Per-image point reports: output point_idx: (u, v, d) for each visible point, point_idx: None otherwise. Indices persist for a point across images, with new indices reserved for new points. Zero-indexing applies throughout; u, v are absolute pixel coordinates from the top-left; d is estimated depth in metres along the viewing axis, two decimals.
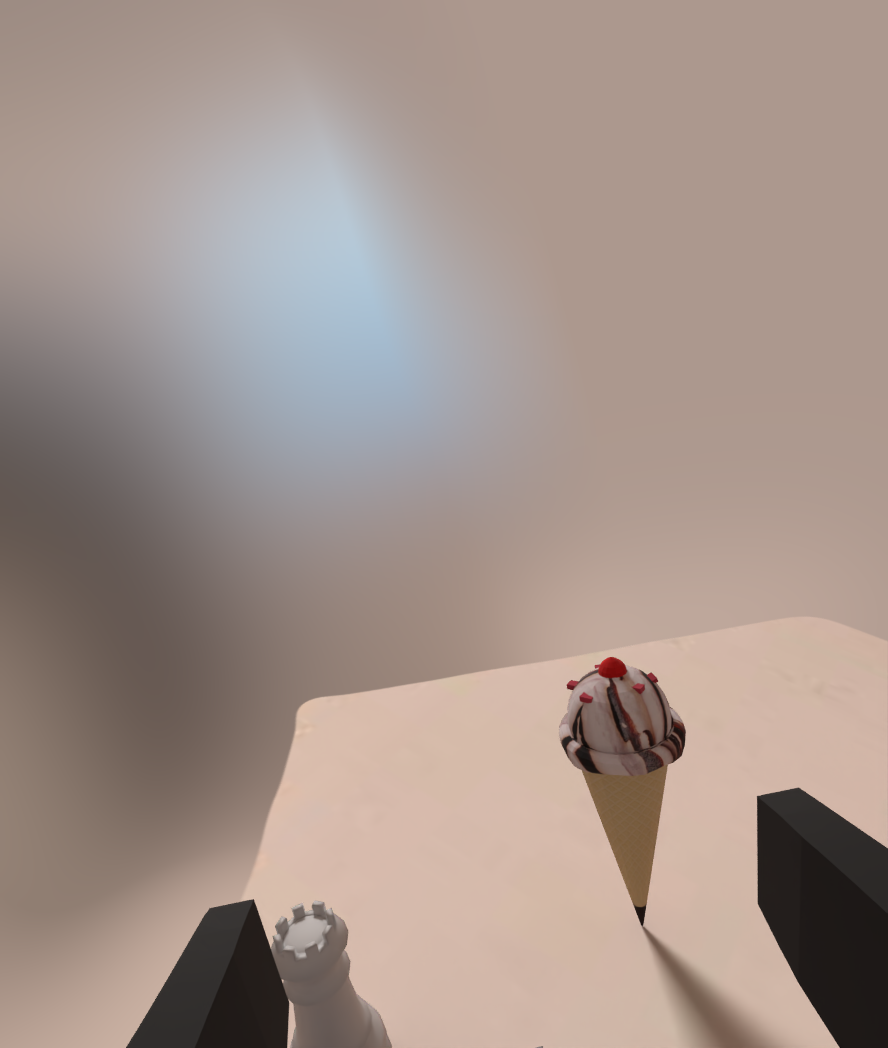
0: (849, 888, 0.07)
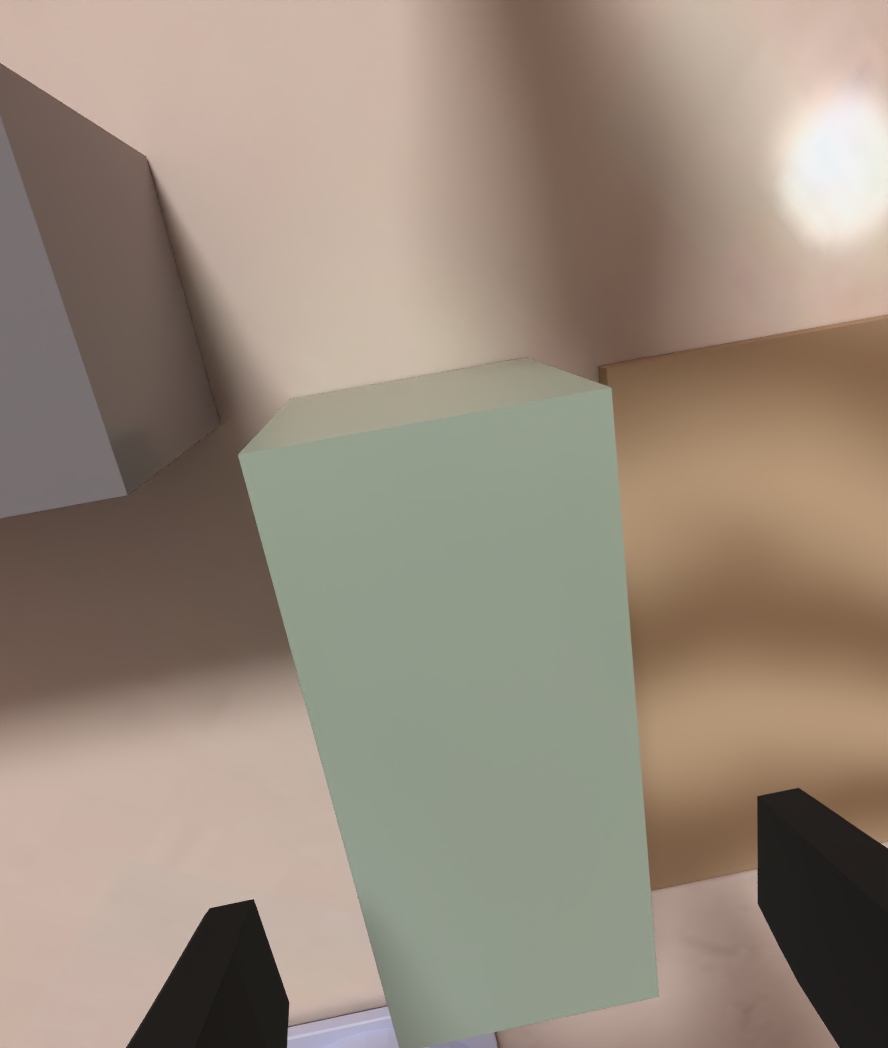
0: (849, 888, 0.07)
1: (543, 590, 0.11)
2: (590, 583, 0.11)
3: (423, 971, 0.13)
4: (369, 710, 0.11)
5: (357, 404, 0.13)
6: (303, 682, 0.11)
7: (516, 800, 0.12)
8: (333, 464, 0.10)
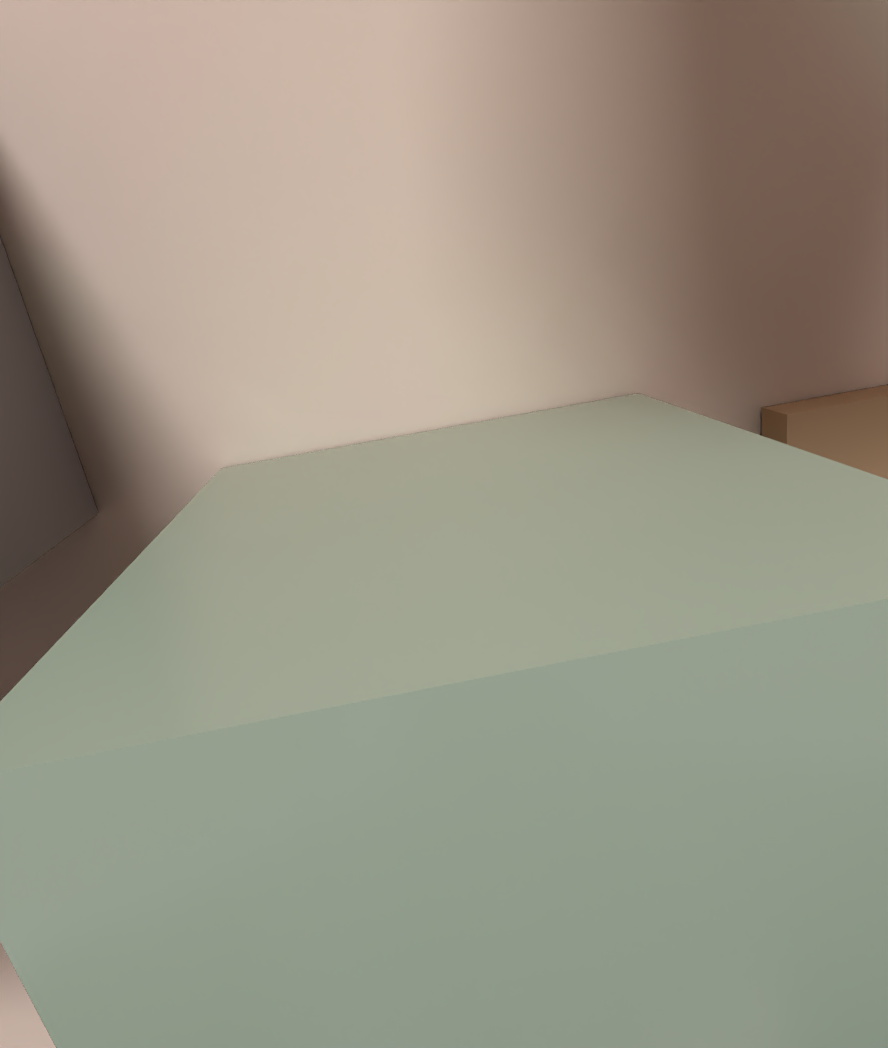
0: None
1: None
2: None
3: None
4: None
5: (334, 511, 0.06)
6: None
7: None
8: (237, 799, 0.03)
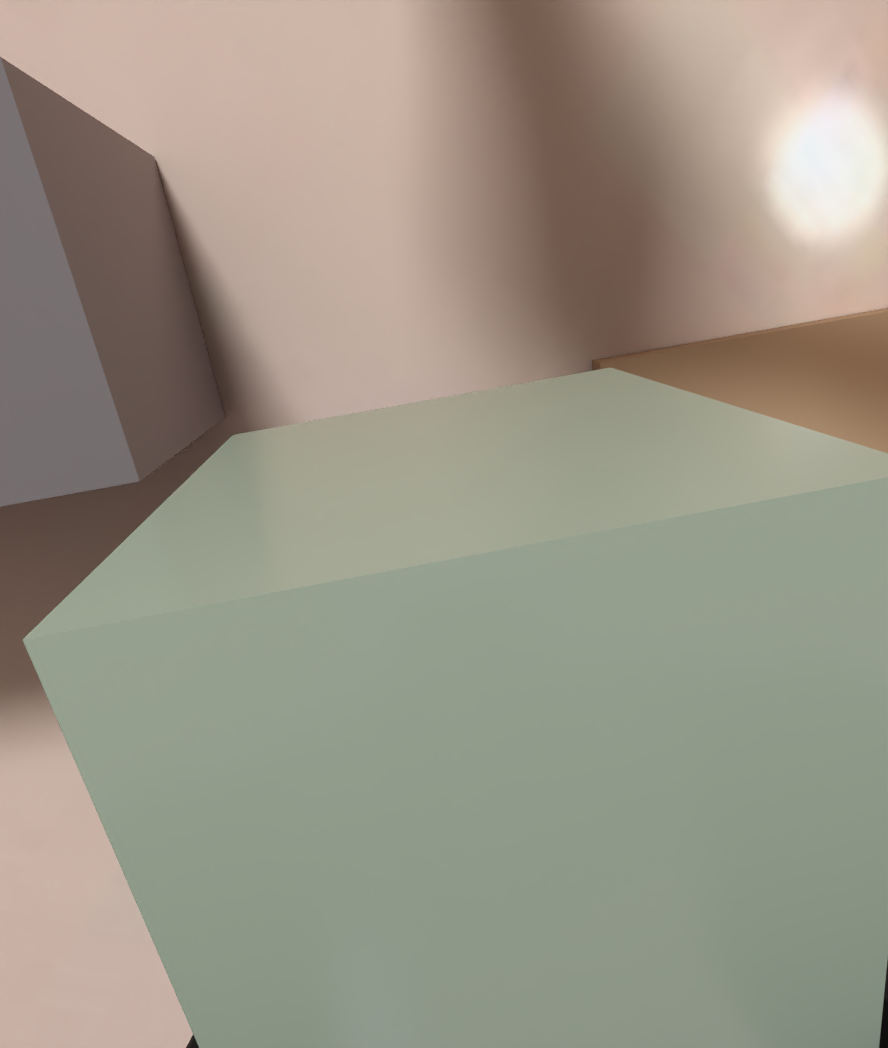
0: None
1: (727, 884, 0.05)
2: (823, 866, 0.05)
3: None
4: None
5: (336, 462, 0.07)
6: None
7: None
8: (264, 654, 0.04)
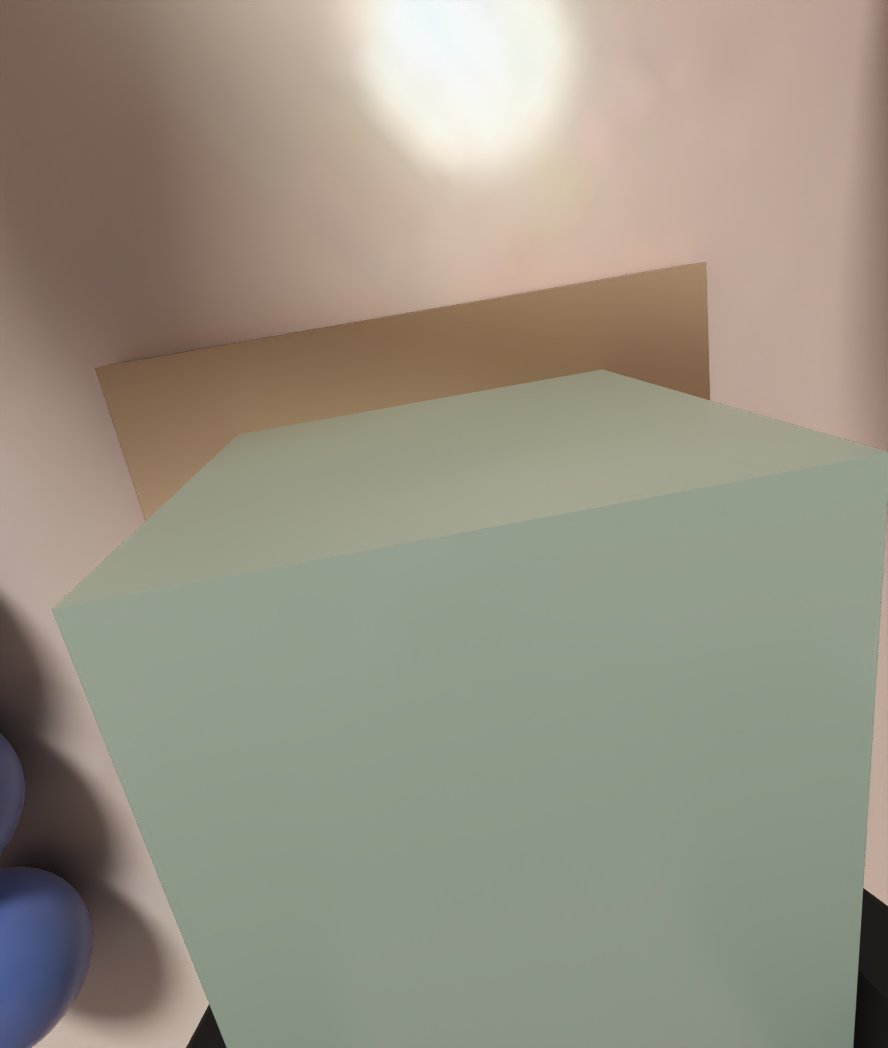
0: None
1: (705, 847, 0.05)
2: (797, 831, 0.05)
3: None
4: None
5: (338, 456, 0.07)
6: (225, 1023, 0.06)
7: None
8: (273, 624, 0.04)
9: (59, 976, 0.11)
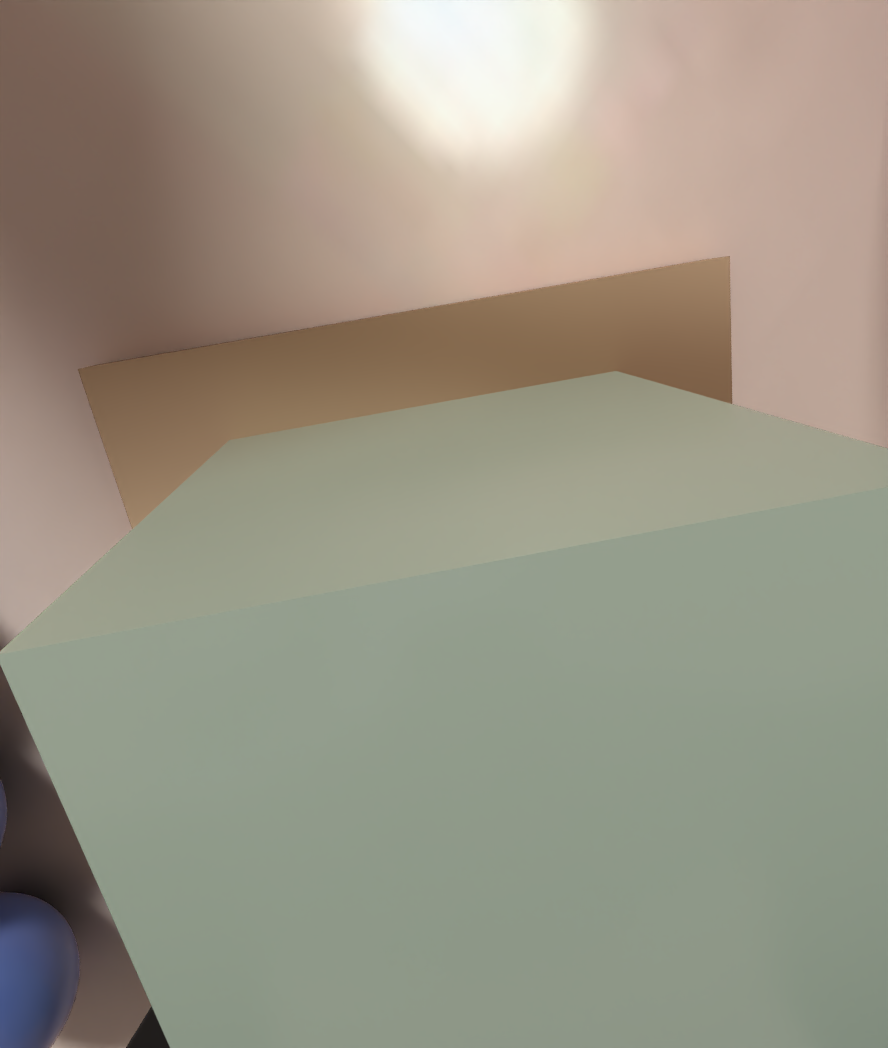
0: None
1: (744, 911, 0.05)
2: (847, 893, 0.05)
3: None
4: None
5: (333, 467, 0.07)
6: None
7: None
8: (254, 670, 0.04)
9: (43, 1010, 0.10)
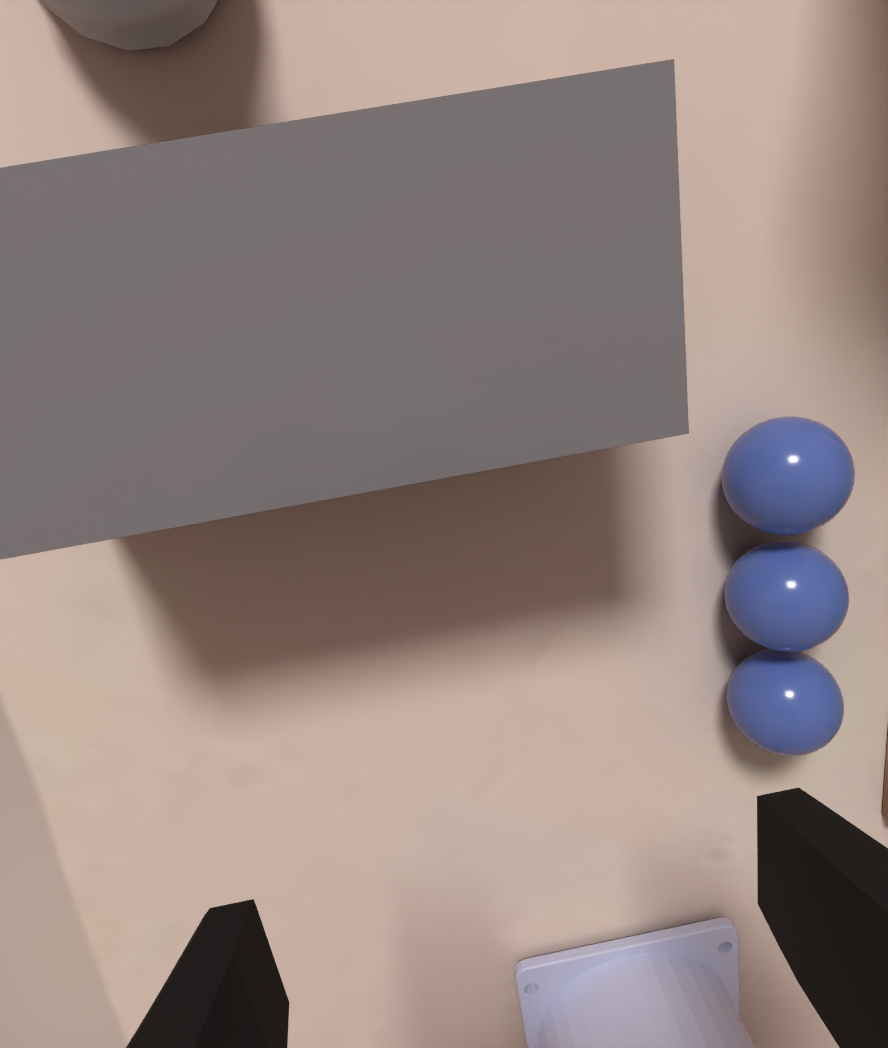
0: (849, 888, 0.07)
1: None
2: None
3: None
4: None
5: None
6: None
7: None
8: None
9: (842, 701, 0.19)
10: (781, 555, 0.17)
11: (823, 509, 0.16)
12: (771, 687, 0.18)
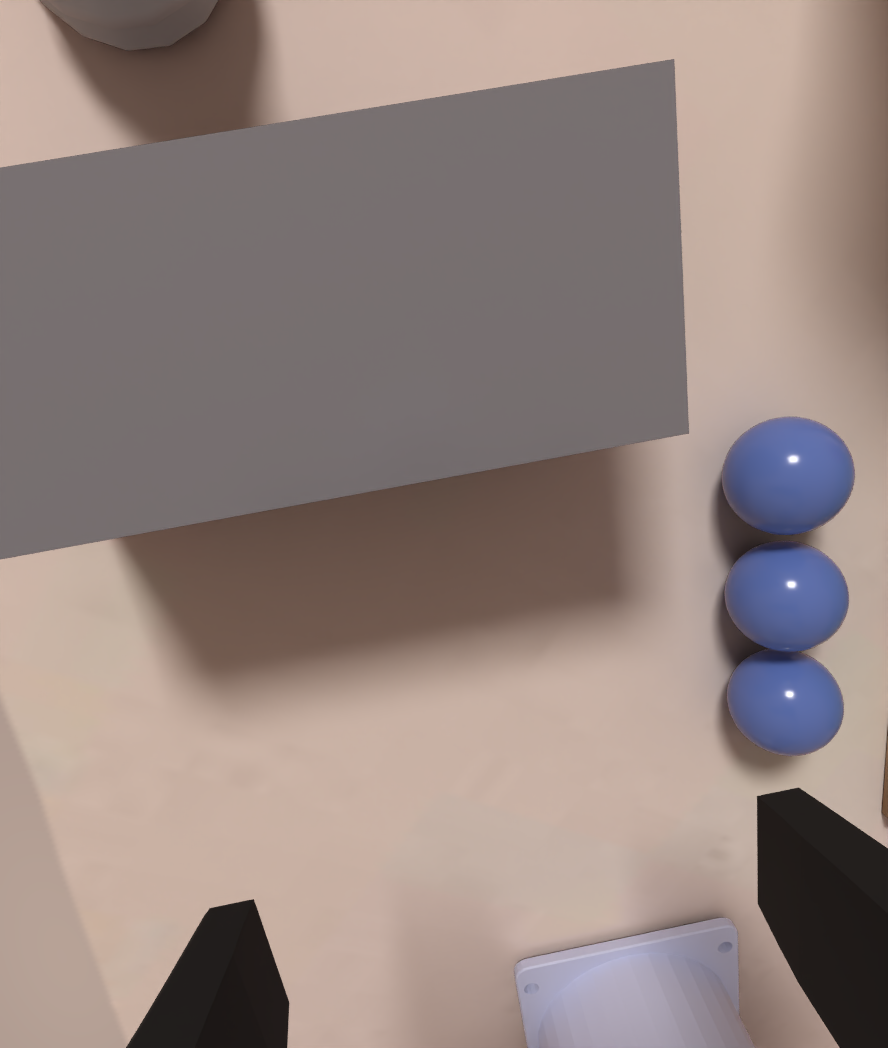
0: (849, 888, 0.07)
1: None
2: None
3: None
4: None
5: None
6: None
7: None
8: None
9: (842, 701, 0.19)
10: (781, 555, 0.17)
11: (823, 509, 0.16)
12: (771, 687, 0.18)
